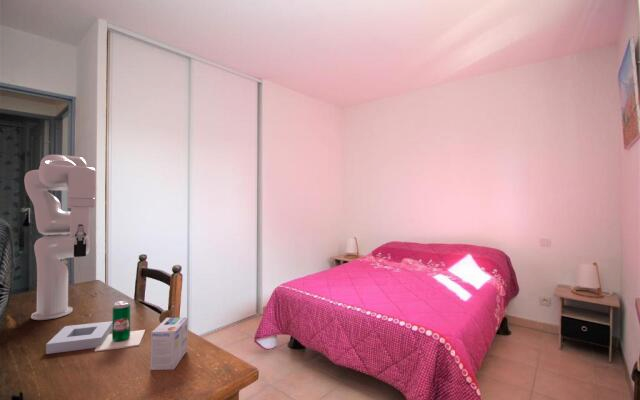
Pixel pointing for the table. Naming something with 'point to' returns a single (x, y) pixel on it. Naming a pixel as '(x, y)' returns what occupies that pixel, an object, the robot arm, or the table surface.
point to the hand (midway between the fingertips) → (80, 253)
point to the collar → (79, 337)
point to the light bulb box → (168, 343)
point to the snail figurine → (167, 314)
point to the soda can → (121, 321)
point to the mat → (130, 342)
